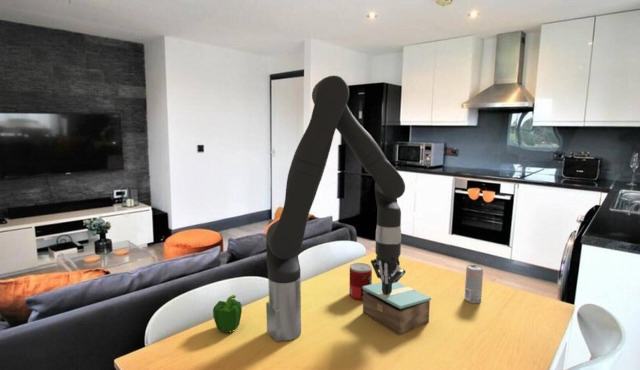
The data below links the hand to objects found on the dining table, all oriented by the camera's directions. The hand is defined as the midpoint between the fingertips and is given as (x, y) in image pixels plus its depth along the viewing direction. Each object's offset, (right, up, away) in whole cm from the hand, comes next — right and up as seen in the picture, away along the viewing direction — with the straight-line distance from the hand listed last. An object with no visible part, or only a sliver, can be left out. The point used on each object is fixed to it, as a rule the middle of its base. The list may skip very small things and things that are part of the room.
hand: (386, 293), depth 113 cm
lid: (+3, -1, +2) cm, 4 cm away
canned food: (-6, -7, +19) cm, 21 cm away
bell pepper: (-48, -10, -3) cm, 49 cm away
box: (+3, -9, +4) cm, 10 cm away
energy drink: (+33, -7, +15) cm, 37 cm away
